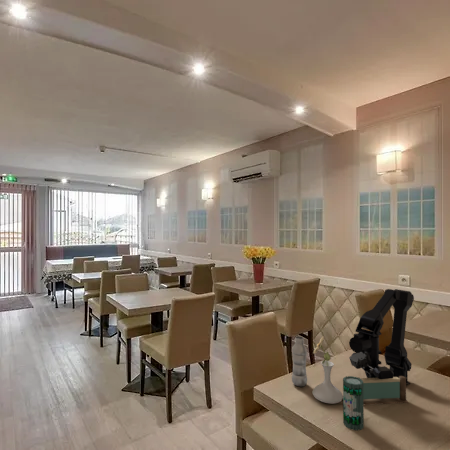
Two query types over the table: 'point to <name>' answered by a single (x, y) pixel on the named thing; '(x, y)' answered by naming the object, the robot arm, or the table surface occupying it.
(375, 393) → the panel
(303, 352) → the plastic bottle
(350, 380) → the can
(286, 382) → the table surface
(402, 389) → the gate frame
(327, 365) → the flower in vase
